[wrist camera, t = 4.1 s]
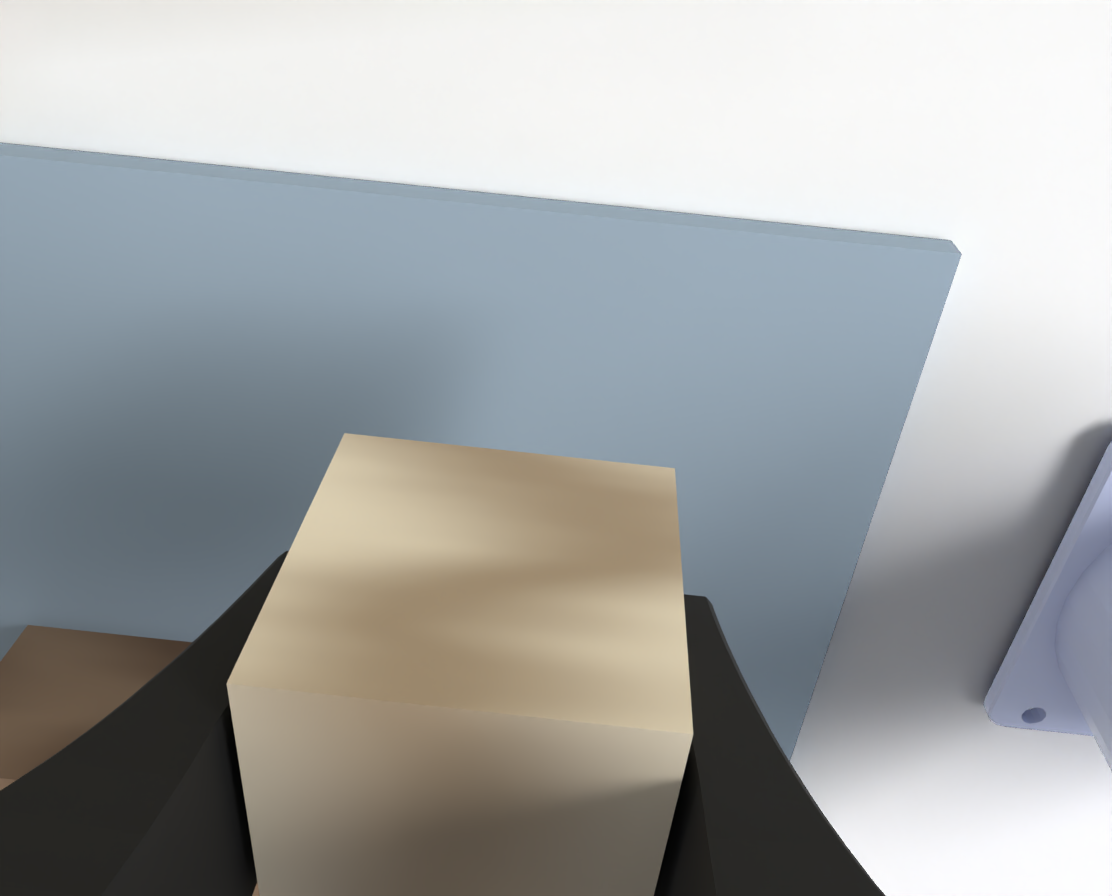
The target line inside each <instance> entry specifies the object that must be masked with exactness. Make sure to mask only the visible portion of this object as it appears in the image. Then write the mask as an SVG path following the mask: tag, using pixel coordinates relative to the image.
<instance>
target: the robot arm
mask: <svg viewBox="0 0 1112 896" xmlns="http://www.w3.org/2000/svg"><path fill="white" fill-rule="evenodd" d="M288 552H289V551H285V552H284V553H283V554H281V555H280V556H279V557H278V558H277V559H276V560H275V561H274V562H273V563H272V564H271V565H270V566H269V567H268V568H267V569H266V570H265V571H264V572H263V573H262V574H261V575H260V576H259V577H258V578H257V579H256V580H255V582H254V583H253V584H252V585H251V586H250V587H249V588H248V589H247V590H246V591H245V592H244V593H243V594H242V595H241V596H240V597H239V598H238V599H237V600H236V601H235V602H234V603H233V604H232V605H231V606H230V607H229V608H228V609H227V610H226V611H225V612H224V613H223V614H222V615H221V616H220V617H219V618H218V619H217V620H216V621H215V622H213V623H212V624H211V625H210V626H209V627H208V628H207V629H206V630H205V631H204V632H203V633H202V634H201V635H200V636H199V637H198V638H196V639H195V640H194V641H193V642H192V643H191V644H190V645H189V646H188V647H187V648H186V649H185V650H184V651H183V652H182V653H180V654H179V655H178V656H177V657H176V658H175V659H174V660H173V661H172V662H171V663H169V664H168V665H167V666H166V667H165V668H164V669H162V670H161V671H160V672H159V673H158V674H156V675H155V676H154V677H153V678H152V679H151V680H149V681H148V682H147V683H146V684H145V685H144V686H142V687H141V688H140V689H139V690H138V691H137V692H135V693H134V694H133V695H132V696H131V697H130V698H128V699H127V700H126V701H125V702H123V703H122V704H121V705H120V706H119V707H117V708H116V709H115V710H113V711H112V712H111V713H110V714H108V715H107V716H106V717H105V718H103V719H102V720H101V721H99V722H98V723H97V724H96V725H94V726H93V727H92V728H90V729H89V730H88V731H86V732H85V733H84V734H82V735H81V736H79V737H78V738H77V739H75V740H74V741H73V742H71V743H70V744H68V745H67V746H66V747H64V748H63V749H62V750H60V751H59V752H57V753H56V754H55V755H53V756H52V757H50V758H49V759H47V760H46V761H44V762H43V763H41V764H40V765H38V766H37V767H35V768H34V769H32V770H31V771H29V772H28V773H26V774H25V775H23V776H22V777H20V778H19V779H17V780H16V781H14V782H13V783H11V784H10V785H8V786H7V787H5V788H3V789H2V790H0V896H252V895H253V892H254V889H255V887H256V884H257V876H256V869H255V863H254V856H253V850H252V844H251V837H250V831H249V824H248V818H247V812H246V805H245V799H244V792H243V786H242V780H241V773H240V767H239V760H238V754H237V748H236V741H235V735H234V728H233V722H232V716H231V709H230V703H229V696H228V690H227V681H228V679H229V677H230V675H231V673H232V671H233V669H234V667H235V664H236V662H237V660H238V658H239V656H240V654H241V652H242V650H243V648H244V645H245V643H246V641H247V639H248V637H249V635H250V633H251V631H252V628H253V626H254V624H255V622H256V620H257V618H258V616H259V614H260V611H261V609H262V607H263V605H264V603H265V601H266V599H267V597H268V594H269V592H270V590H271V588H272V586H273V584H274V582H275V580H276V577H277V575H278V573H279V571H280V569H281V567H282V565H283V563H284V561H285V558H286V556H287V554H288ZM684 607H685V621H686V635H687V650H688V664H689V678H690V693H691V707H692V722H693V738H692V742H691V746H690V750H689V754H688V758H687V762H686V766H685V770H684V775H683V779H682V783H681V787H680V791H679V795H678V799H677V803H676V807H675V811H674V815H673V819H672V823H671V827H670V831H669V836H668V840H667V844H666V848H665V852H664V856H663V860H662V864H661V868H660V872H659V876H658V880H657V884H656V888H655V893H654V896H885V895H884V893H883V892H882V891H881V890H880V889H879V888H878V886H877V885H876V884H875V883H874V881H873V880H872V879H871V878H870V876H869V875H868V874H867V872H866V871H865V870H864V869H863V867H862V866H861V865H860V863H859V862H858V861H857V859H856V858H855V857H854V855H853V854H852V853H851V852H850V850H849V849H848V848H847V846H846V845H845V844H844V842H843V841H842V839H841V838H840V837H839V835H838V834H837V832H836V831H835V830H834V828H833V827H832V825H831V824H830V823H829V821H828V820H827V819H826V817H825V816H824V814H823V813H822V811H821V810H820V808H819V807H818V805H817V804H816V802H815V801H814V799H813V798H812V796H811V795H810V793H809V792H808V790H807V789H806V787H805V786H804V784H803V783H802V781H801V779H800V778H799V776H798V774H797V773H796V771H795V770H794V768H793V766H792V765H791V763H790V761H789V760H788V758H787V756H786V755H785V753H784V752H783V750H782V748H781V746H780V745H779V743H778V741H777V739H776V738H775V736H774V734H773V732H772V731H771V729H770V727H769V725H768V723H767V721H766V720H765V718H764V716H763V714H762V712H761V710H760V708H759V707H758V705H757V703H756V701H755V699H754V697H753V695H752V693H751V691H750V689H749V687H748V685H747V683H746V681H745V679H744V677H743V675H742V673H741V671H740V669H739V667H738V665H737V663H736V660H735V658H734V656H733V654H732V652H731V650H730V647H729V645H728V643H727V640H726V638H725V636H724V633H723V631H722V629H721V626H720V624H719V621H718V618H717V616H716V613H715V611H714V608H713V605H712V603H711V602H710V601H709V600H708V599H707V597H705V596H696V595H687V594H684ZM984 707H985V709H986V712H987V714H988V717H989V719H990V721H992V722H993V723H994V724H996V725H1000V726H1004V727H1014V728H1023V729H1033V730H1042V731H1051V732H1061V733H1070V734H1080V735H1089V736H1094V738H1095V740H1096V742H1097V743H1098V745H1099V747H1100V749H1101V751H1102V753H1103V755H1104V757H1105V759H1106V761H1107V763H1108V765H1109V767H1110V769H1111V771H1112V441H1111V442H1110V444H1109V445H1108V447H1107V449H1106V451H1105V453H1104V455H1103V457H1102V459H1101V462H1100V464H1099V466H1098V468H1097V470H1096V472H1095V474H1094V476H1093V478H1092V480H1091V482H1090V484H1089V486H1088V488H1087V490H1086V492H1085V494H1084V496H1083V498H1082V501H1081V503H1080V505H1079V507H1078V509H1077V511H1076V513H1075V515H1074V517H1073V519H1072V521H1071V523H1070V525H1069V527H1068V529H1067V531H1066V533H1065V535H1064V537H1063V539H1062V542H1061V544H1060V546H1059V548H1058V550H1057V552H1056V554H1055V556H1054V558H1053V560H1052V562H1051V564H1050V566H1049V568H1048V570H1047V572H1046V574H1045V576H1044V578H1043V581H1042V583H1041V585H1040V587H1039V589H1038V591H1037V593H1036V595H1035V597H1034V599H1033V601H1032V603H1031V605H1030V607H1029V609H1028V611H1027V613H1026V615H1025V617H1024V619H1023V622H1022V624H1021V626H1020V628H1019V630H1018V632H1017V634H1016V636H1015V638H1014V640H1013V642H1012V644H1011V646H1010V648H1009V650H1008V652H1007V654H1006V656H1005V658H1004V661H1003V663H1002V665H1001V667H1000V669H999V671H998V673H997V675H996V677H995V679H994V681H993V683H992V685H991V687H990V689H989V691H988V693H987V695H986V697H985V700H984ZM1030 708H1032V709H1030ZM1028 709H1029V710H1028Z"/></svg>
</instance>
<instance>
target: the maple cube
mask: <svg viewBox="0 0 1112 896" xmlns="http://www.w3.org/2000/svg"><path fill="white" fill-rule="evenodd" d="M227 690H228V696H229V703H230V709H231V716H232V722H233V728H234V735H235V741H236V748H237V754H238V760H239V767H240V773H241V780H242V786H243V792H244V799H245V805H246V812H247V818H248V824H249V831H250V837H251V844H252V850H253V856H254V863H255V869H256V876H257V882H258V888H259V895H260V896H654V893H655V888H656V884H657V880H658V876H659V872H660V868H661V864H662V860H663V856H664V852H665V848H666V844H667V840H668V836H669V831H670V827H671V823H672V819H673V815H674V811H675V807H676V803H677V799H678V795H679V791H680V787H681V783H682V779H683V775H684V770H685V766H686V762H687V758H688V754H689V750H690V746H691V742H692V738H693V722H692V707H691V693H690V678H689V664H688V650H687V635H686V621H685V607H684V592H683V578H682V563H681V549H680V535H679V520H678V506H677V491H676V477H675V468H668V467H658V466H649V465H640V464H630V463H621V462H611V461H602V460H593V459H583V458H574V457H564V456H555V455H545V454H536V453H527V452H517V451H508V450H498V449H489V448H480V447H470V446H461V445H451V444H442V443H432V442H423V441H414V440H404V439H395V438H385V437H376V436H367V435H357V434H348V433H344V435H343V437H342V440H341V442H340V444H339V446H338V448H337V450H336V452H335V454H334V457H333V459H332V461H331V463H330V465H329V467H328V469H327V471H326V474H325V476H324V478H323V480H322V482H321V484H320V486H319V488H318V491H317V493H316V495H315V497H314V499H313V501H312V503H311V505H310V507H309V510H308V512H307V514H306V516H305V518H304V520H303V522H302V524H301V527H300V529H299V531H298V533H297V535H296V537H295V539H294V541H293V544H292V546H291V548H290V550H289V552H288V554H287V556H286V558H285V561H284V563H283V565H282V567H281V569H280V571H279V573H278V575H277V577H276V580H275V582H274V584H273V586H272V588H271V590H270V592H269V594H268V597H267V599H266V601H265V603H264V605H263V607H262V609H261V611H260V614H259V616H258V618H257V620H256V622H255V624H254V626H253V628H252V631H251V633H250V635H249V637H248V639H247V641H246V643H245V645H244V648H243V650H242V652H241V654H240V656H239V658H238V660H237V662H236V664H235V667H234V669H233V671H232V673H231V675H230V677H229V679H228V681H227Z"/></svg>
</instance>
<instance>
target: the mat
mask: <svg viewBox="0 0 1112 896" xmlns="http://www.w3.org/2000/svg"><path fill="white" fill-rule="evenodd" d="M961 255H962V254H961V252H960V251H959V250H958V249H957V247H956V246H955V245H954V244H953V242H952V241H950V240H940V239H930V238H920V237H911V236H901V235H891V234H882V233H872V232H862V231H852V230H843V229H833V228H823V227H813V226H804V225H794V224H784V223H775V222H765V221H755V220H745V219H736V218H726V217H716V216H706V215H697V214H687V213H677V212H668V211H658V210H648V209H638V208H629V207H619V206H609V205H599V204H590V203H580V202H570V201H561V200H551V199H541V198H531V197H522V196H512V195H502V194H492V193H483V192H473V191H463V190H454V189H444V188H434V187H424V186H415V185H405V184H395V183H385V182H376V181H366V180H356V179H347V178H337V177H327V176H317V175H308V174H298V173H288V172H278V171H269V170H259V169H249V168H240V167H230V166H220V165H210V164H201V163H191V162H181V161H171V160H162V159H152V158H142V157H133V156H123V155H113V154H103V153H94V152H84V151H74V150H64V149H55V148H45V147H35V146H25V145H16V144H6V143H0V661H1V660H2V659H3V657H4V656H5V655H6V653H7V652H8V651H9V649H10V648H11V647H12V645H13V644H14V643H15V641H16V640H17V639H18V637H19V636H20V635H21V633H22V632H23V631H24V629H25V628H26V627H27V625H34V626H43V627H53V628H62V629H72V630H81V631H91V632H100V633H110V634H119V635H128V636H138V637H147V638H157V639H166V640H176V641H185V642H193V641H194V640H195V639H196V638H198V637H199V636H200V635H201V634H202V633H203V632H204V631H205V630H206V629H207V628H208V627H209V626H210V625H211V624H212V623H213V622H215V621H216V620H217V619H218V618H219V617H220V616H221V615H222V614H223V613H224V612H225V611H226V610H227V609H228V608H229V607H230V606H231V605H232V604H233V603H234V602H235V601H236V600H237V599H238V598H239V597H240V596H241V595H242V594H243V593H244V592H245V591H246V590H247V589H248V588H249V587H250V586H251V585H252V584H253V583H254V582H255V580H256V579H257V578H258V577H259V576H260V575H261V574H262V573H263V572H264V571H265V570H266V569H267V568H268V567H269V566H270V565H271V564H272V563H273V562H274V561H275V560H276V559H277V558H278V557H279V556H280V555H281V554H283V553H284V552H285V551H289V550H290V548H291V546H292V544H293V541H294V539H295V537H296V535H297V533H298V531H299V529H300V527H301V524H302V522H303V520H304V518H305V516H306V514H307V512H308V510H309V507H310V505H311V503H312V501H313V499H314V497H315V495H316V493H317V491H318V488H319V486H320V484H321V482H322V480H323V478H324V476H325V474H326V471H327V469H328V467H329V465H330V463H331V461H332V459H333V457H334V454H335V452H336V450H337V448H338V446H339V444H340V442H341V440H342V437H343V435H344V433H348V434H357V435H367V436H376V437H385V438H395V439H404V440H414V441H423V442H432V443H442V444H451V445H461V446H470V447H480V448H489V449H498V450H508V451H517V452H527V453H536V454H545V455H555V456H564V457H574V458H583V459H593V460H602V461H611V462H621V463H630V464H640V465H649V466H658V467H668V468H675V477H676V491H677V506H678V520H679V535H680V549H681V563H682V578H683V592H684V594H687V595H696V596H705V597H707V599H708V600H709V601H710V602H711V603H712V605H713V608H714V611H715V613H716V616H717V618H718V621H719V624H720V626H721V629H722V631H723V633H724V636H725V638H726V640H727V643H728V645H729V647H730V650H731V652H732V654H733V656H734V658H735V660H736V663H737V665H738V667H739V669H740V671H741V673H742V675H743V677H744V679H745V681H746V683H747V685H748V687H749V689H750V691H751V693H752V695H753V697H754V699H755V701H756V703H757V705H758V707H759V708H760V710H761V712H762V714H763V716H764V718H765V720H766V721H767V723H768V725H769V727H770V729H771V731H772V732H773V734H774V736H775V738H776V739H777V741H778V743H779V745H780V746H781V748H782V750H783V752H784V753H785V755H786V756H787V758H788V760H789V761H790V759H791V756H792V753H793V750H794V747H795V744H796V741H797V738H798V735H799V732H800V729H801V726H802V723H803V720H804V717H805V714H806V712H807V709H808V706H809V703H810V700H811V697H812V694H813V691H814V688H815V685H816V682H817V679H818V676H819V673H820V670H821V667H822V664H823V661H824V658H825V656H826V653H827V650H828V647H829V644H830V641H831V638H832V635H833V632H834V629H835V626H836V623H837V620H838V617H839V614H840V611H841V608H842V605H843V602H844V599H845V597H846V594H847V591H848V588H849V585H850V582H851V579H852V576H853V573H854V570H855V567H856V564H857V561H858V558H859V555H860V552H861V549H862V546H863V543H864V541H865V538H866V535H867V532H868V529H869V526H870V523H871V520H872V517H873V514H874V511H875V508H876V505H877V502H878V499H879V496H880V493H881V490H882V487H883V485H884V482H885V479H886V476H887V473H888V470H889V467H890V464H891V461H892V458H893V455H894V452H895V449H896V446H897V443H898V440H899V437H900V434H901V431H902V428H903V426H904V423H905V420H906V417H907V414H908V411H909V408H910V405H911V402H912V399H913V396H914V393H915V390H916V387H917V384H918V381H919V378H920V375H921V372H922V370H923V367H924V364H925V361H926V358H927V355H928V352H929V349H930V346H931V343H932V340H933V337H934V334H935V331H936V328H937V325H938V322H939V319H940V316H941V313H942V311H943V308H944V305H945V302H946V299H947V296H948V293H949V290H950V287H951V284H952V281H953V278H954V275H955V272H956V269H957V266H958V263H959V260H960V257H961Z"/></svg>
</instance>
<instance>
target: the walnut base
mask: <svg viewBox="0 0 1112 896" xmlns="http://www.w3.org/2000/svg"><path fill="white" fill-rule="evenodd" d="M191 643H192V642H185V641H176V640H166V639H157V638H147V637H138V636H128V635H119V634H110V633H100V632H91V631H81V630H72V629H62V628H53V627H43V626H34V625H27V627H26V628H25V629H24V631H23V632H22V633H21V635H20V636H19V637H18V639H17V640H16V641H15V643H14V644H13V645H12V647H11V648H10V649H9V651H8V652H7V653H6V655H5V656H4V657H3V659H2V660H1V661H0V790H2V789H3V788H5V787H7V786H8V785H10V784H11V783H13V782H14V781H16V780H17V779H19V778H20V777H22V776H23V775H25V774H26V773H28V772H29V771H31V770H32V769H34V768H35V767H37V766H38V765H40V764H41V763H43V762H44V761H46V760H47V759H49V758H50V757H52V756H53V755H55V754H56V753H57V752H59V751H60V750H62V749H63V748H64V747H66V746H67V745H68V744H70V743H71V742H73V741H74V740H75V739H77V738H78V737H79V736H81V735H82V734H84V733H85V732H86V731H88V730H89V729H90V728H92V727H93V726H94V725H96V724H97V723H98V722H99V721H101V720H102V719H103V718H105V717H106V716H107V715H108V714H110V713H111V712H112V711H113V710H115V709H116V708H117V707H119V706H120V705H121V704H122V703H123V702H125V701H126V700H127V699H128V698H130V697H131V696H132V695H133V694H134V693H135V692H137V691H138V690H139V689H140V688H141V687H142V686H144V685H145V684H146V683H147V682H148V681H149V680H151V679H152V678H153V677H154V676H155V675H156V674H158V673H159V672H160V671H161V670H162V669H164V668H165V667H166V666H167V665H168V664H169V663H171V662H172V661H173V660H174V659H175V658H176V657H177V656H178V655H179V654H180V653H182V652H183V651H184V650H185V649H186V648H187V647H188V646H189V645H190V644H191ZM252 896H260V895H259V888H258V882H257V884H256V887H255V889H254V892H253V895H252Z"/></svg>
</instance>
